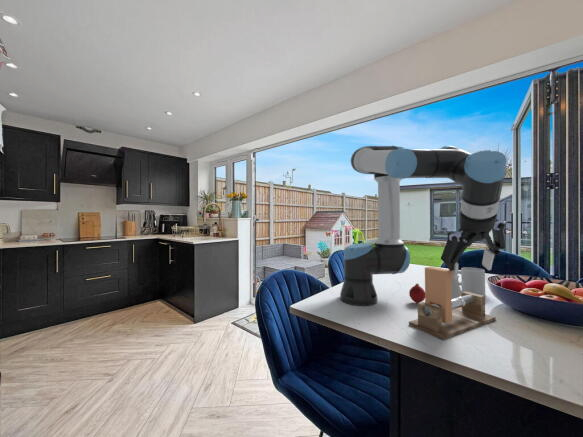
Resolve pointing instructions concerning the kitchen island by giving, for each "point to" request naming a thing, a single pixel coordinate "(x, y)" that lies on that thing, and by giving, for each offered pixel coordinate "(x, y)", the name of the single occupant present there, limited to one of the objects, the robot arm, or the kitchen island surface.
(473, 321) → the rig board
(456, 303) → the pipe
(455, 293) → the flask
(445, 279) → the upright wooden plank
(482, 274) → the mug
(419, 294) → the onion
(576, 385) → the kitchen island surface
